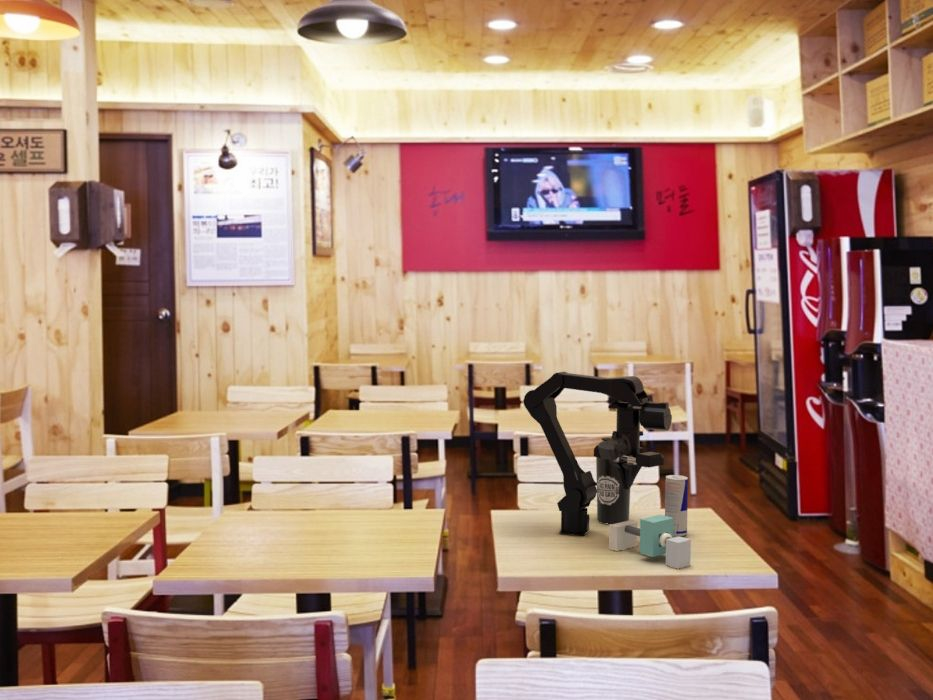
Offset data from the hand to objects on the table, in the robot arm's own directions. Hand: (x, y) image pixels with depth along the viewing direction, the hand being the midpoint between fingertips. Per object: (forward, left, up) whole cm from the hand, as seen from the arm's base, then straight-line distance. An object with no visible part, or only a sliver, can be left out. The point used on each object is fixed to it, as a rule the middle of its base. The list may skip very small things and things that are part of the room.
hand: (627, 489), depth 223 cm
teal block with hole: (+9, -13, -12) cm, 19 cm away
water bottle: (-7, +18, -13) cm, 23 cm away
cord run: (+7, -11, -13) cm, 19 cm away
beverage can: (+11, +10, -13) cm, 20 cm away
